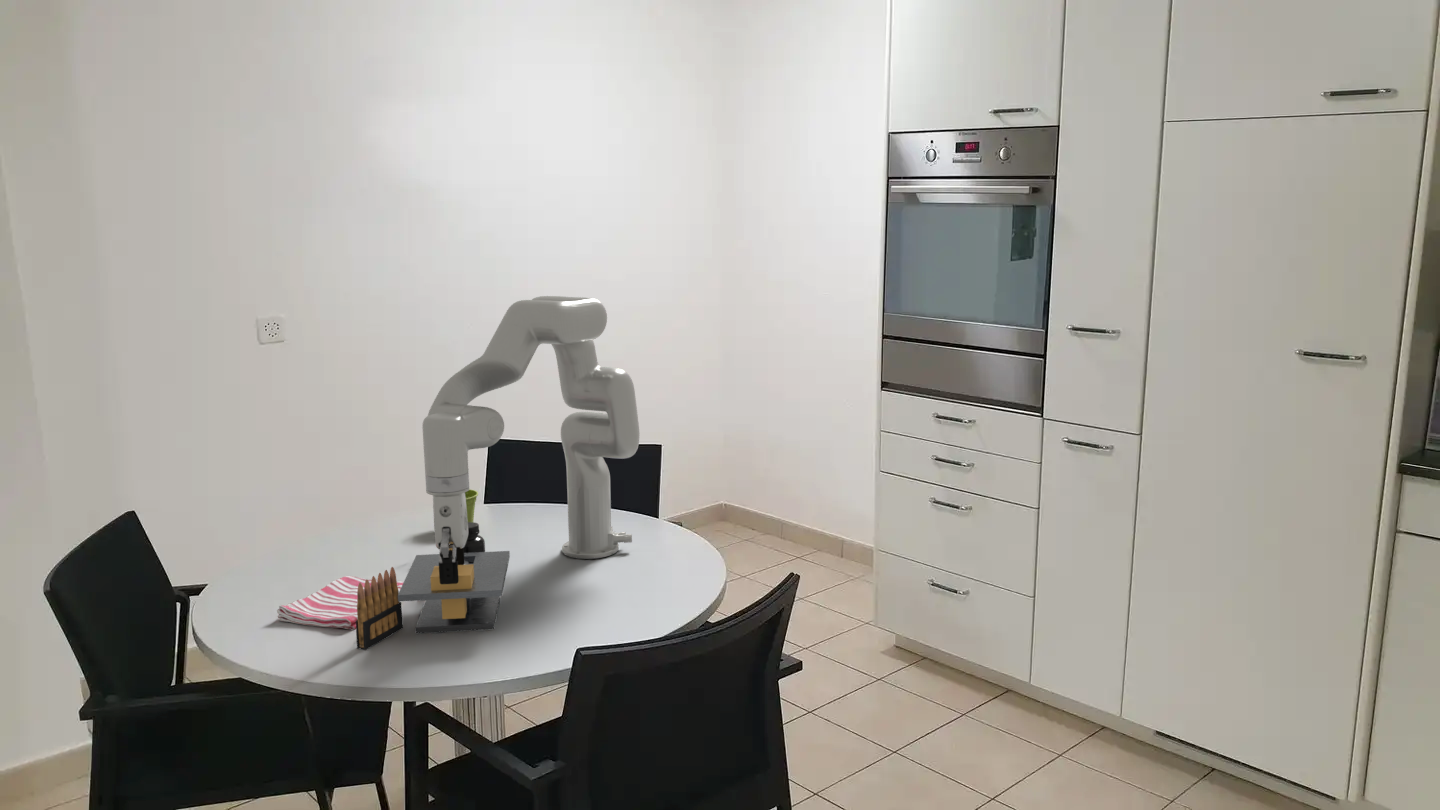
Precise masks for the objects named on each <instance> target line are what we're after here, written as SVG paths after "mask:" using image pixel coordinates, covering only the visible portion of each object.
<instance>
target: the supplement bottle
mask: <svg viewBox="0 0 1440 810" xmlns="http://www.w3.org/2000/svg"><path fill="white" fill-rule="evenodd" d="M468 531H469V533H468V538H467V541H466V544H465V546H464V553H473V552H486V543H485V542H486V541H485V538H484V537H483V536H482V535H479V534H480V524H479V523H477V522H474V521H473V522H468ZM468 563H469V564H473V563H474V562H468Z"/></svg>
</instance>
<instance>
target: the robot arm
mask: <svg viewBox="0 0 1440 810" xmlns="http://www.w3.org/2000/svg"><path fill="white" fill-rule="evenodd" d="M607 322H608V314H607V310H606V308H605V305H604V303H602V302H601V301H600V300H598V299H596V298H595V297H583V296H582V297H581V296H580V297H579V296H561V295H542V296H537V297H534V298H531V299H523V300H521V299H520V300H518V301H516V302H513V303H512V304H511V305H510V306H509V307H508V309H507V310H506V312H505V314H504V316H503V317H502V319H501V320H500V323H499V324H498V326H497V328H496V330H495V332H494V334H493V336H492V337H491V339H490V341H489V343H488V344H487V347H486V349H485V350H484V352H483V354H482V355H481V356H480V357H478V358H476V359H475V360H473V361H471V362H470V363H469V364H467V365H465V366H464V367H462V368H461V369H460V370H459V371H458V372H456V373H454V374H453V375H452V376H450V377H449V378H448V379H447V381H446V382H445V383H444V384H442V387H441V388H440V389H439V391H438V393H437V395H436V397H435V398H434V400H433V402H432V404H431V406H430V408H429V410H428V414H427V416H425V418H424V419H423V421H422V440H423V441H422V442H423V445H422V446H423V458H424V461H423V463H424V475H425V477H424V478H425V492H426V494H427V495H431V496H432V508H433V529H434V542H435V546H436V547H435V548H436V549H438V550H439V553H438V554H439V578H440V584H457V583H458V581H459V578H458V565H464V546H465V544H466V541H467V538H468V533H469V531H468V520H467V508H466V497H465V492H467V491H469V489H470V471H469V454H468V453H469V451H471V450H478V449H485V448H489V447H492V446H494V445H495V444H497V443H498V442H499V441H500V439H501V438H502V436H503V434H504V431H505V421H504V419H503V417H502V414H500V412H498V411H497V410H495V409H494V408H491V407H488V406H480V405H479V406H478V405H472V404H471V405H469V403H471V402H472V401H473V400H475V399H476V398H478V397H479V396H481V395H484V394H486V393H488V392H491V391H494V390H498V389H501V388H503V387H507V386H509V385H512V384H514V383H516V382H518V381H520V380H521V379H522V378H523V376H524V375H525V373H526V371H527V369H528V366H530V365H529V364H530V363H531V361H532V359H533V357H534V355H535V353H536V352H537V349H538V347H539V346H540V345H543V344H547V345H551V347H552V348H553V350H554V353H555V358H556V363H557V365H556V366H557V371H558V377H559V382H560V383H559V385H560V389H561V395H562V399H563V402H564V403H565V404H566V406H568V407H570V408H572V409H576V410H583V411H579V412H573V413H571V414H569V415H568V416H566V417H565V418H564V419H563V421H562V424H561V427H560V439H561V440H560V441H561V445H562V449H563V452H564V453H563V454H564V459H565V466H566V469H565V470H566V489H567V490H566V491H567V522H568V523H567V525H568V526H567V527H568V541H566V542H565V543H564V544H563V545H562V547H561V552H562V553H563V554H564V556H567V557H569V558H574V559H580V560H582V559H583V560H590V559H592V560H593V559H594V560H595V559H601V558H605V557H609V556H613V555H614V554H616V553H617V552H618V551H619V546H620V545H619V544H620V543H623V544H626V543H628V544H629V543H630V544H631V543H633V534H632V533H626V532H627V531H623V532H622V531H620V532H616V531H614V529H613V526H612V510H611V509H612V507H611V506H612V504H611V503H612V500H611V474H610V470H609V467H608V464H607V463H606V461H605V459H604V458H607V459H608V458H610V459H622V460H623V459H624V460H625V459H630V458H631V457H633V456H634V455H636V452H637V451H638V448H639V445H640V426H639V416H638V415H639V414H638V407H637V400H636V399H637V398H636V389H635V386H634V381H633V380H632V377H631V376H630V374H629V373H628V372H626V371H625V370H624V369H623V368H618V367H611V366H609V367H607V366H601V365H600V364H599V362H598V358H597V353H596V345H595V342H594V340H596V339H598V338H599V337H600V336H601V335H602V334H603V333H604V331H605V329H606V327H607ZM584 410H585V411H584ZM595 411H597V412H595ZM603 412H605V413H603Z"/></svg>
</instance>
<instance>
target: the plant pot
mask: <svg viewBox="0 0 1440 810" xmlns="http://www.w3.org/2000/svg"><path fill="white" fill-rule="evenodd" d="M478 496H479V492H478V491H477V490H475V489H471V488H469V491H467V492H465V497H466V508H467V520H468V522H474V517H475V507H476V502H477V497H478Z"/></svg>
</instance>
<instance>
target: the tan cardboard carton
mask: <svg viewBox="0 0 1440 810" xmlns="http://www.w3.org/2000/svg"><path fill="white" fill-rule="evenodd" d="M430 578H431V591H435V590H454V589H471V588H472V584H473V580H474V564H469V565H458V578H459V581H458V583H457V584H440V578H439V566H434V569H433V572H432V575H431V577H430ZM441 602H442V619H456V618H465V616H466V612H467V604H466V598H459V599H441Z"/></svg>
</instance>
